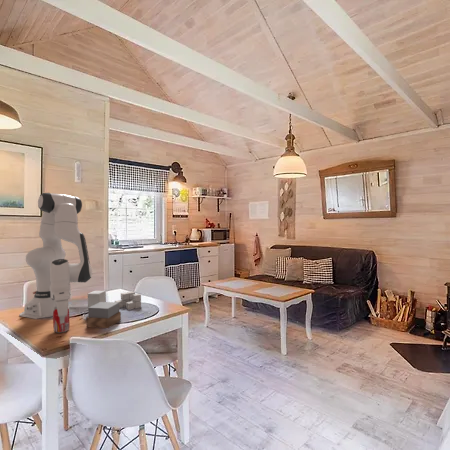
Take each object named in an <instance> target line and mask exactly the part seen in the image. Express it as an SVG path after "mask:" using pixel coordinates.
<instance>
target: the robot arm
mask: <svg viewBox="0 0 450 450" xmlns="http://www.w3.org/2000/svg"><path fill="white" fill-rule="evenodd" d="M37 207H38V208H39V210H40V211H41V212H43V213H42V216H41V220H40V226H39V232H38V237H40V239H41V240H42V247H37V248H33V249H32V250H30V251H28V252H27V253H26V255H25V262H26V264H27V265H28V266H29V267H30V268H31V269H32V271H33V273H34V275H35V280H36V281H35V283H36V290H35V291H33V292H32V295H33V297H32V299H30V300H29V301H27V303H26V304H25V305H24V308H23V309H24V310H23V311H22V312H20V313H19V317H23V318H27V319H33V320H36V319H37V320H38V319H42V318H50V317H53V311H54V308H55V307H56V306H57V311H58V316H59V317H60V323H61V324H62V323H64V319H65V316H67V313H68V309H69V300H70V299H71V295H72V289H71V288H72V287H71V283H87V282H88V281H89V280H91V279H92V275H93V269H92V267H91V266H92V265H91V262H90V257H89V251H88V245H87V241H86V237H85V234H84V233H82V232H81V231H80V229H79V225H78V223H79V222H78V215H79V213H80V212H81V211H82V207H83V202H82V199H81V198H79V197H78V196H75V195H73V196H72V195H70V194H64V193H50V192H43V193H40V195H39V197H38V199H37ZM62 241H65V242H67V243H70V244H71V243H72V244H73V245H75V246H76V247H77V249H78V254H79V261H80V262H78V263H70V262H69V260H68V259H65V257H66V255H67V254H66V253H67V252H66V250H65V249H64V247H63V245H62Z"/></svg>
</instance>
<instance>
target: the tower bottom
mask: <svg viewBox="0 0 450 450" xmlns="http://www.w3.org/2000/svg"><path fill="white" fill-rule="evenodd" d="M121 314H122V313H121V311H119V312H118V313H117V314H115V315H113V316H111V317H110V318H90V317H89V316H87V317H86V327H87V328H99V329H100V328H101V329H109V328H111V327H112V326H114V325H116V324H117V323H119V322H121V321H122V316H121ZM120 320H121V321H120Z"/></svg>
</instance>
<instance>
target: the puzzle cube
mask: <svg viewBox="0 0 450 450" xmlns="http://www.w3.org/2000/svg"><path fill="white" fill-rule="evenodd" d="M114 302H117V303H119V309H120V308H126V309H127V310H128V309H130V310H134V308H135V309H139V307H140V308H142V294H140V293H136V291H134V290H133V291H127V292H121V293H120V299H118V300H114Z"/></svg>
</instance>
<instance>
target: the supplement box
mask: <svg viewBox="0 0 450 450" xmlns="http://www.w3.org/2000/svg"><path fill="white" fill-rule="evenodd" d="M106 292H107V291H106V290H93V291H91V292H88V293H87V309H88V308H89V307H91V306H93V305H95V304H97V303H99V302H107V294H106Z"/></svg>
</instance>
